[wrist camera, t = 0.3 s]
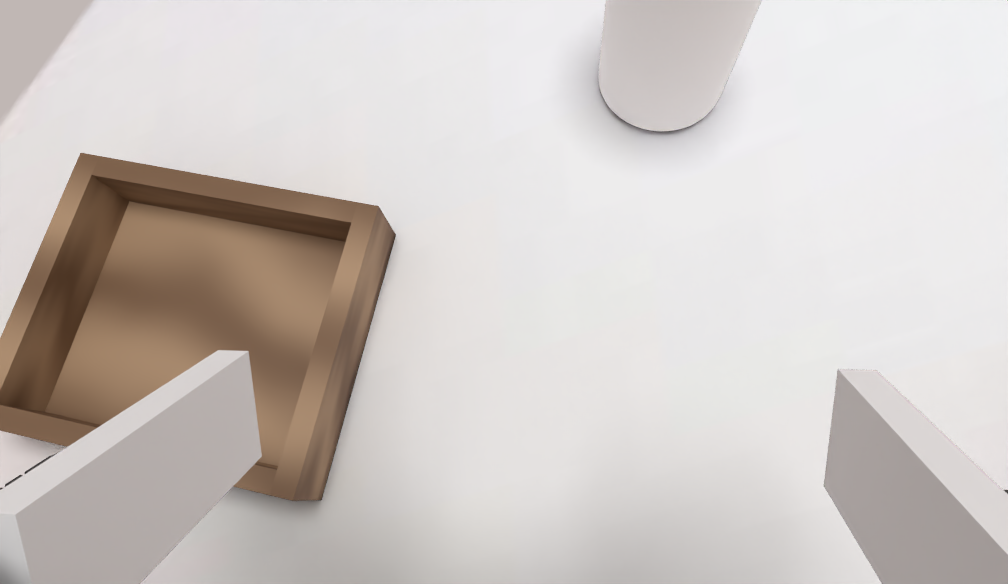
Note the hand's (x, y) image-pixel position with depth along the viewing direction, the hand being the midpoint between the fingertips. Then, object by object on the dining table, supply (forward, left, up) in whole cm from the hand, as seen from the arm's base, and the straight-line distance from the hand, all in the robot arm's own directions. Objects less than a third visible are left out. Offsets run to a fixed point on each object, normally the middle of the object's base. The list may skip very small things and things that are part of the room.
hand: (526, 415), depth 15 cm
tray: (+3, +17, -16) cm, 23 cm away
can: (+20, -2, -16) cm, 26 cm away
